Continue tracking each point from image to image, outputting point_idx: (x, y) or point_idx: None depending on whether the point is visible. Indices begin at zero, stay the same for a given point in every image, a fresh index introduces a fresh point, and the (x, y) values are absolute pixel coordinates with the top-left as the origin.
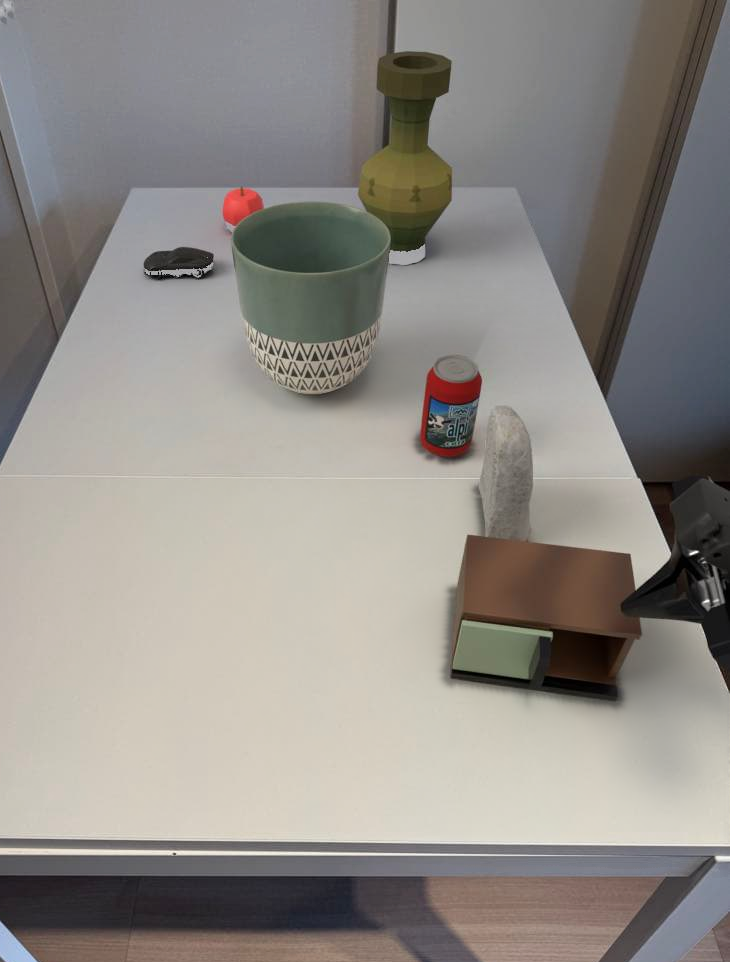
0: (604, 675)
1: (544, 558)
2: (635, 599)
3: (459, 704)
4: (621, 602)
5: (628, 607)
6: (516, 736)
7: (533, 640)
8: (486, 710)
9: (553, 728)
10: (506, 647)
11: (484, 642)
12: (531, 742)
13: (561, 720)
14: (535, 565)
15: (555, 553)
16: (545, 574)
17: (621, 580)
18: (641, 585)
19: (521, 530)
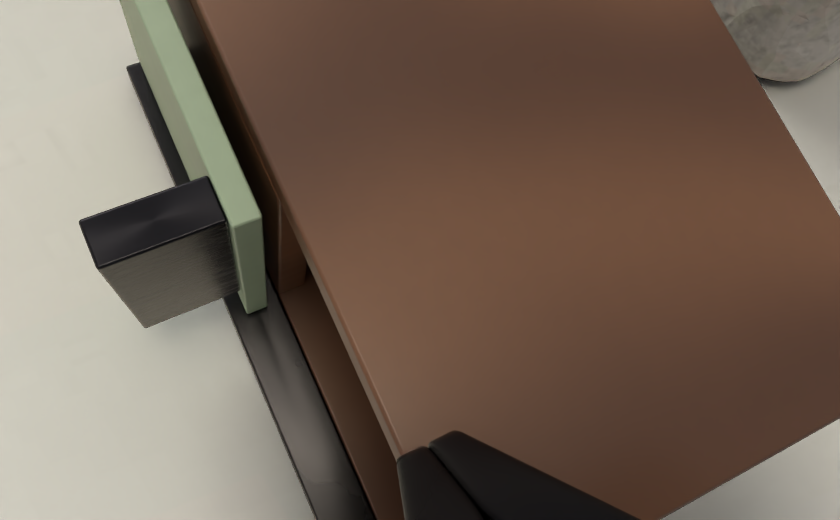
0: None
1: (635, 34)
2: (475, 516)
3: (47, 140)
4: (460, 432)
5: (413, 494)
6: (17, 347)
7: (204, 173)
8: (70, 222)
9: (116, 445)
10: (173, 115)
11: (137, 28)
12: (19, 401)
13: (164, 456)
14: (570, 11)
15: (693, 65)
16: (548, 65)
17: (747, 388)
18: (613, 508)
19: (790, 26)
